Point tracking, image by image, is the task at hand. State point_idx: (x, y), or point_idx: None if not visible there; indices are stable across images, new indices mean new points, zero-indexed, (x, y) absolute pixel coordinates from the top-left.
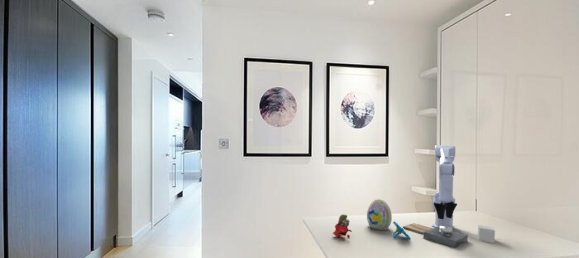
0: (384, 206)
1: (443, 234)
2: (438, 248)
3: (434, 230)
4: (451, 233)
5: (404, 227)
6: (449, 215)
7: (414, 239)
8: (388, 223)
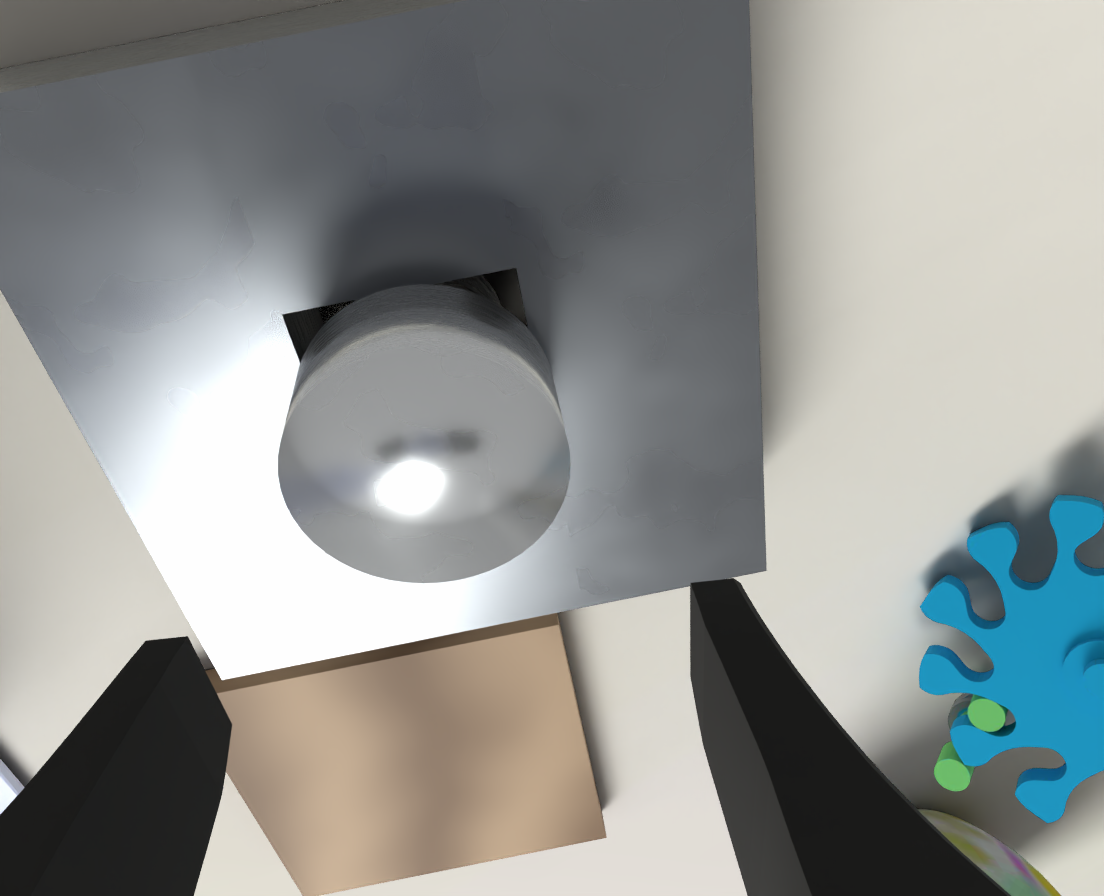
0: None
1: None
2: (1023, 73)
3: None
4: (393, 293)
5: (601, 816)
6: (175, 741)
7: (912, 502)
8: None
